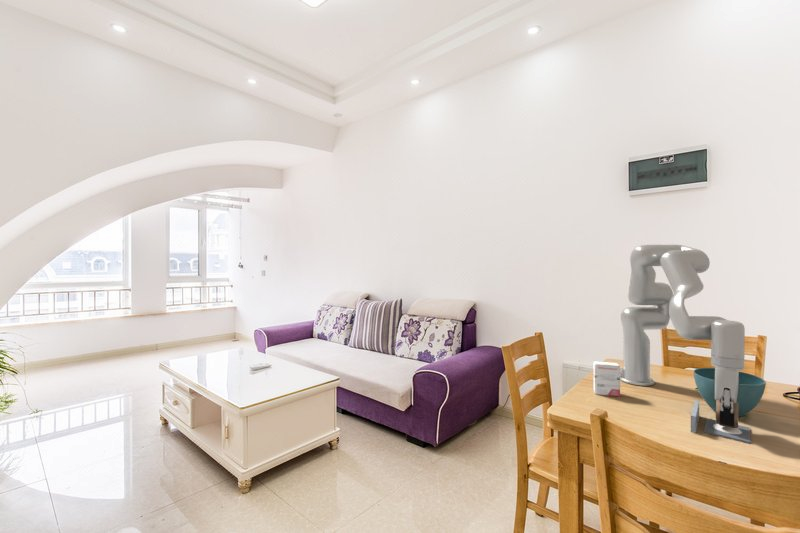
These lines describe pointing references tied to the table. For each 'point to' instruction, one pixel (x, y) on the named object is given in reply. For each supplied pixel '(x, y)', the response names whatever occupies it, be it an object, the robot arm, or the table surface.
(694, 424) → the divider wall
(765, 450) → the table surface
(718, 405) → the walnut block
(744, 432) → the mat
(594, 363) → the ink box
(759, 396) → the teal bowl
